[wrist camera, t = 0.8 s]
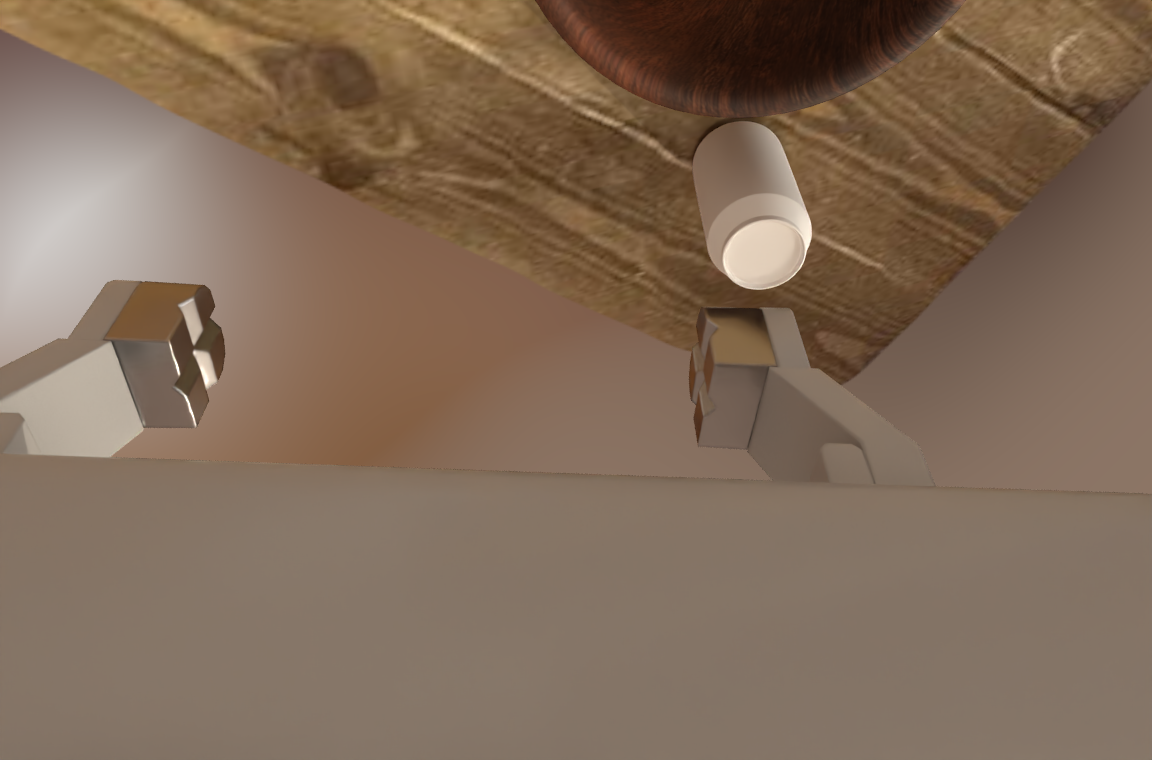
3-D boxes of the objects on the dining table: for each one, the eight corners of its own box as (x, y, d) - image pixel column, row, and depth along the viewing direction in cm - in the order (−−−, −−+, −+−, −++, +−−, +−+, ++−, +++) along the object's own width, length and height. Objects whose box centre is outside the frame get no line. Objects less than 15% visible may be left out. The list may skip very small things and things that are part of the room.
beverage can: (706, 106, 58) (730, 200, 49) (795, 124, 59) (834, 219, 50) (679, 189, 62) (697, 289, 53) (763, 204, 63) (795, 306, 54)
